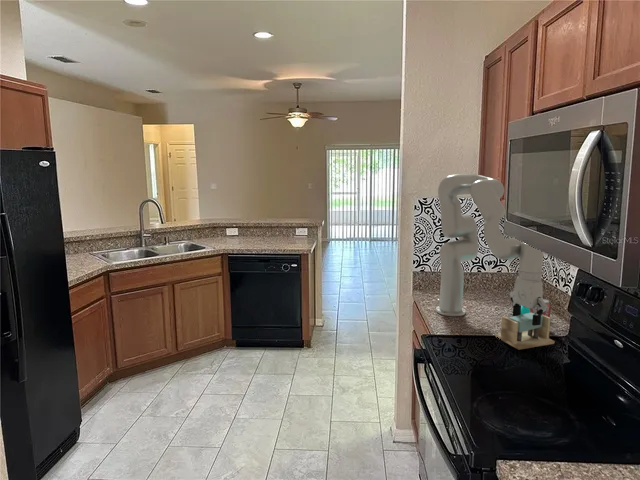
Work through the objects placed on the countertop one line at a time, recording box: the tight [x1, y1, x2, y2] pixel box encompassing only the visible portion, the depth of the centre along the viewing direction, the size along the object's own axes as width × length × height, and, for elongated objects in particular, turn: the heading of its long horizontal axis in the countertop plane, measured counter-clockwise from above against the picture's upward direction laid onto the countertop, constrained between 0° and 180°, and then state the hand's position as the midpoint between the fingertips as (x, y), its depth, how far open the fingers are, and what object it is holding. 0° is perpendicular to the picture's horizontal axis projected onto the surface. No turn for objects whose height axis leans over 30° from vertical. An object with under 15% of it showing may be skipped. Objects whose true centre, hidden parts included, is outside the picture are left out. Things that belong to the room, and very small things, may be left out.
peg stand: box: [495, 315, 556, 350], centre depth 162 cm, size 12×16×9 cm
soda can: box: [530, 298, 551, 318], centre depth 172 cm, size 7×7×12 cm
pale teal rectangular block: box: [508, 313, 543, 333], centre depth 162 cm, size 12×5×4 cm, turn 116°
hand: (526, 320), depth 162 cm, fingers open, 9 cm apart
